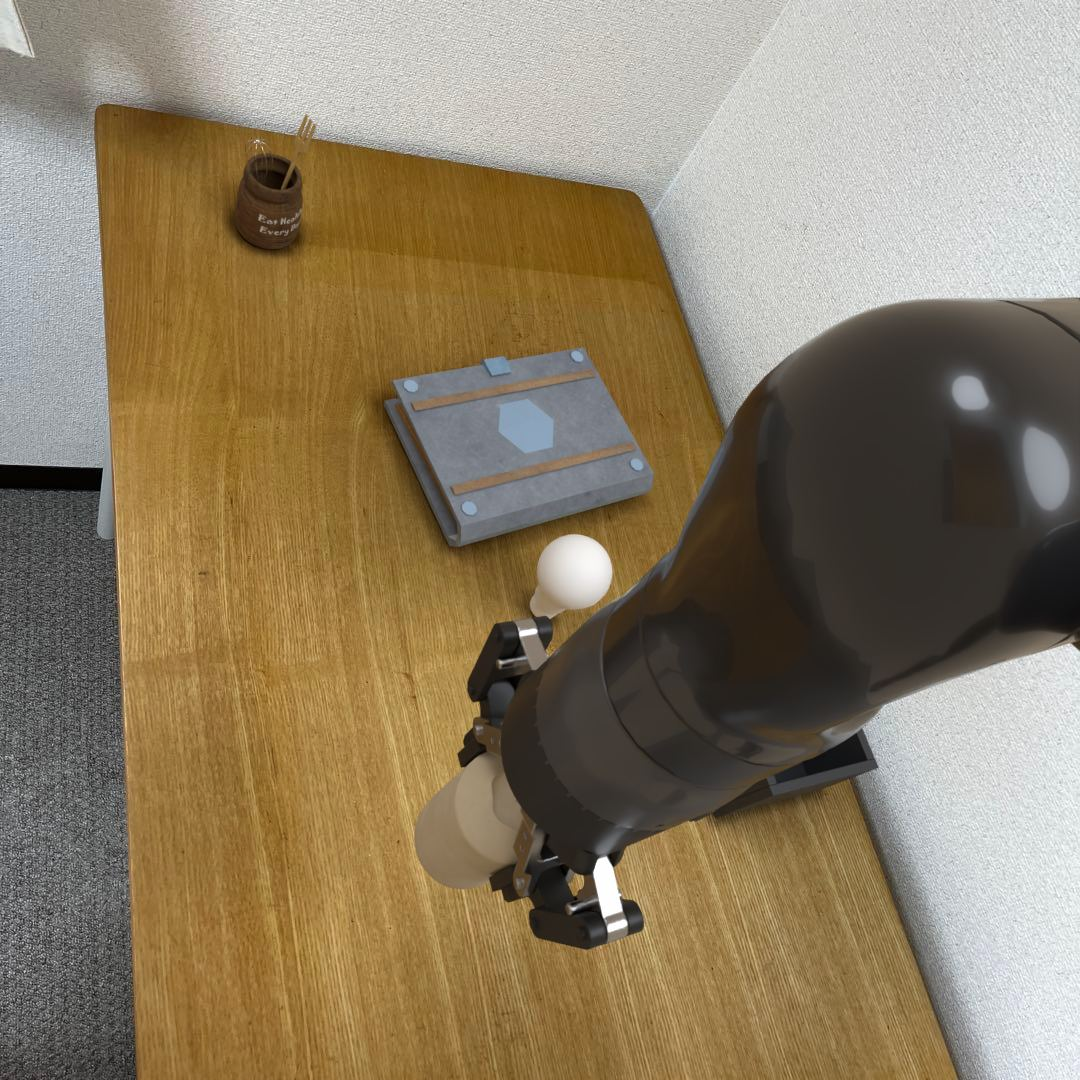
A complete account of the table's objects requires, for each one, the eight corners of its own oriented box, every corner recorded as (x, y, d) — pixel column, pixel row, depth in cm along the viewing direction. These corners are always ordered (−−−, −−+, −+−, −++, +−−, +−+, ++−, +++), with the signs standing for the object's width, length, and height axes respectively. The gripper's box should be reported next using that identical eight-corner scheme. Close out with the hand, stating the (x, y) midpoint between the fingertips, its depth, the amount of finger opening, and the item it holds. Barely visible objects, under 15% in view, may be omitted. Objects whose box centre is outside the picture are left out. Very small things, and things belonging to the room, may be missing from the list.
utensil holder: (221, 215, 87) (230, 110, 77) (276, 199, 90) (292, 96, 80) (257, 259, 86) (270, 158, 76) (312, 240, 89) (331, 142, 79)
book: (451, 556, 78) (468, 530, 74) (380, 403, 83) (392, 370, 79) (639, 502, 89) (662, 476, 85) (566, 369, 94) (585, 338, 90)
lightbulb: (541, 567, 81) (590, 508, 72) (585, 619, 80) (639, 566, 71) (493, 600, 78) (537, 543, 69) (537, 655, 77) (588, 605, 68)
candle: (392, 847, 48) (440, 807, 40) (451, 768, 51) (507, 715, 43) (472, 912, 48) (536, 885, 40) (526, 829, 51) (596, 787, 43)
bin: (815, 791, 81) (879, 767, 74) (715, 818, 76) (773, 795, 69) (770, 674, 85) (826, 641, 78) (673, 693, 80) (723, 660, 73)
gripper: (487, 548, 33) (388, 696, 46) (611, 969, 27) (458, 994, 41) (660, 529, 36) (519, 672, 50) (801, 900, 30) (600, 945, 44)
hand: (492, 817), depth 45 cm, fingers closed on candle, 5 cm apart
